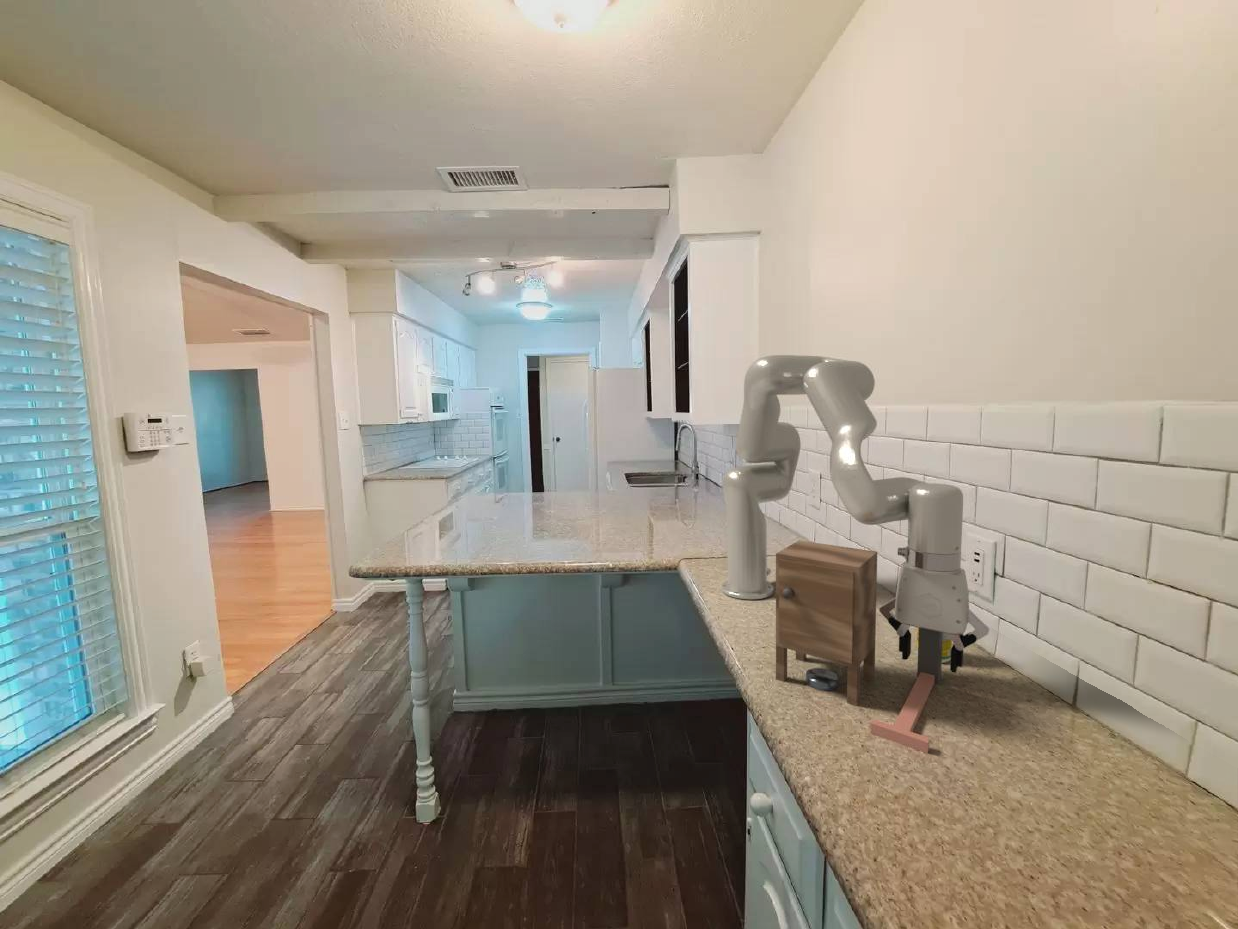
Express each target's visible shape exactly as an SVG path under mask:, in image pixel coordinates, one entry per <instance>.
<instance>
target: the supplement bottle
mask: <svg viewBox="0 0 1238 929" xmlns="http://www.w3.org/2000/svg"><path fill="white" fill-rule="evenodd" d="M916 628H917V629H916V654H917V655H918V637H919V627H916ZM952 643H953V641H952V639H951V637H950V634H946V633H943V640H942V664H945V663H948V662H951V649H952V646H953V644H952Z"/></svg>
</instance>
